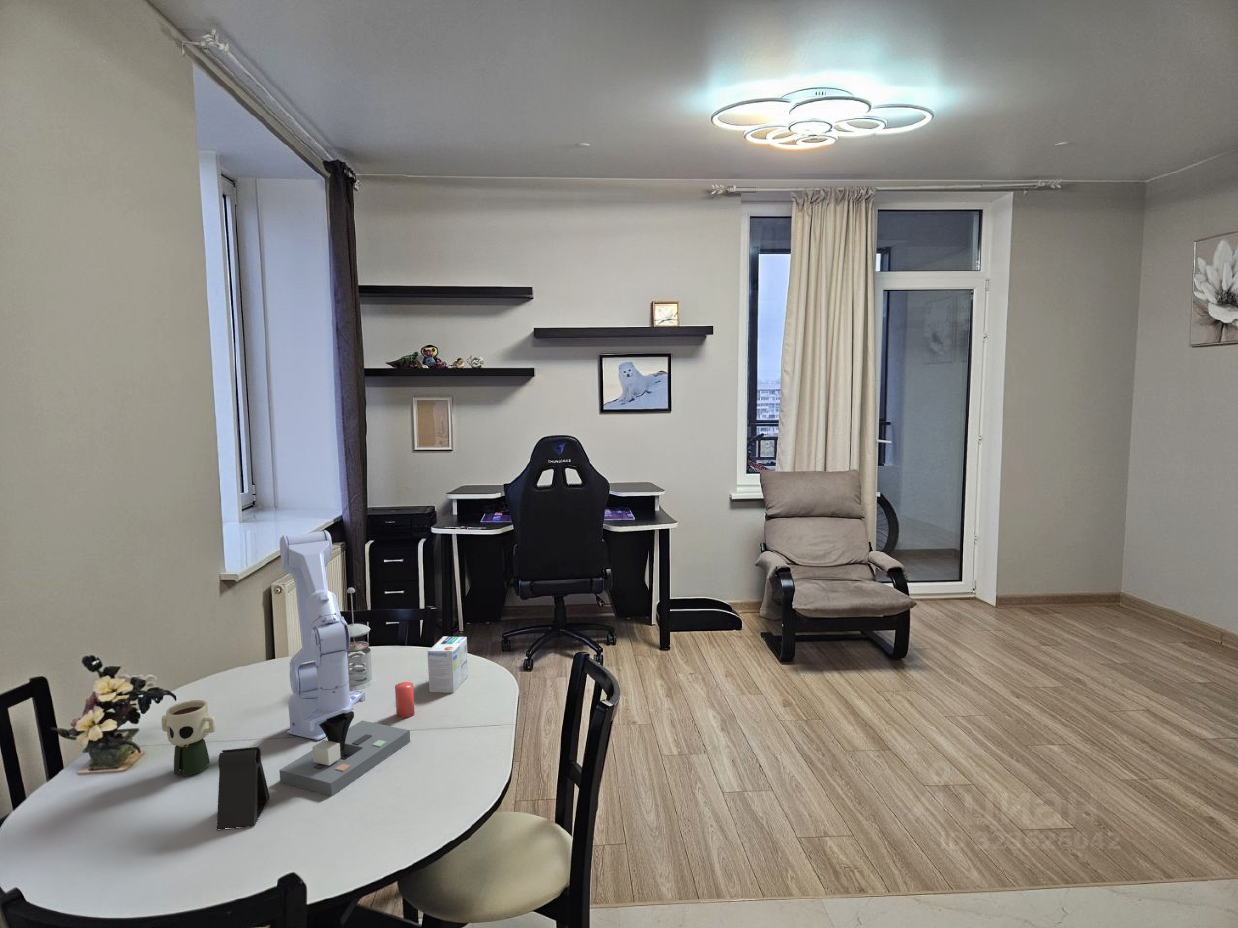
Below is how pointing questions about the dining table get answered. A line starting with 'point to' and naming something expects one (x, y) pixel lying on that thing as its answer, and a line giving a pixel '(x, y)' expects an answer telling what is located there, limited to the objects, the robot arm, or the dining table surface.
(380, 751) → the breaker panel
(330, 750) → the lever
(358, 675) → the french press
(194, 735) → the character mug
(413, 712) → the pin
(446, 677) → the light bulb box
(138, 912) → the dining table surface
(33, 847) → the dining table surface
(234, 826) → the phone stand
